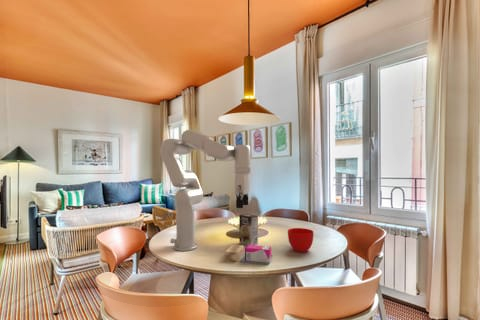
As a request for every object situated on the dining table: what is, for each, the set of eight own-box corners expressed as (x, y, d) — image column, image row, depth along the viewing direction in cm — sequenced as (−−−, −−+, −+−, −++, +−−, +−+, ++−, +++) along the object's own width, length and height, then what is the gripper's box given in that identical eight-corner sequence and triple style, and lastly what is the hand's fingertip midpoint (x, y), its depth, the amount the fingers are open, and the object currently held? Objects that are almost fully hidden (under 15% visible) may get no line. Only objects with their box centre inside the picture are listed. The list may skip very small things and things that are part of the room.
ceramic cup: (304, 243, 144) (303, 225, 145) (318, 253, 128) (318, 233, 128) (282, 245, 142) (281, 226, 143) (293, 255, 126) (293, 234, 126)
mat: (239, 262, 117) (239, 261, 117) (246, 253, 128) (246, 252, 128) (268, 264, 113) (268, 264, 113) (272, 255, 125) (272, 255, 125)
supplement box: (247, 256, 123) (271, 259, 120) (244, 260, 117) (269, 263, 114) (248, 244, 123) (271, 246, 120) (244, 247, 118) (269, 250, 114)
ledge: (225, 260, 119) (225, 251, 119) (232, 252, 130) (232, 244, 130) (237, 261, 118) (237, 252, 118) (244, 253, 128) (243, 245, 128)
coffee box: (238, 243, 146) (238, 214, 147) (246, 240, 151) (246, 213, 152) (251, 246, 140) (250, 216, 141) (258, 243, 145) (258, 215, 145)
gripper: (239, 170, 134) (239, 203, 133) (229, 171, 117) (229, 208, 116) (254, 170, 131) (254, 204, 131) (245, 171, 115) (245, 209, 114)
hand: (242, 206), depth 124 cm, fingers open, 9 cm apart
